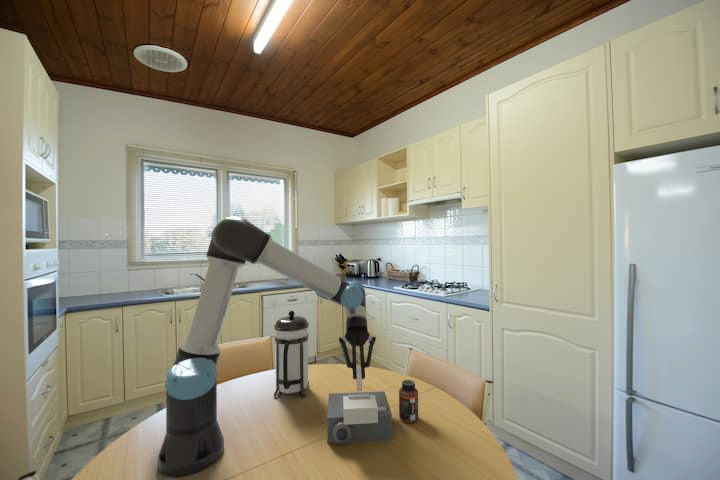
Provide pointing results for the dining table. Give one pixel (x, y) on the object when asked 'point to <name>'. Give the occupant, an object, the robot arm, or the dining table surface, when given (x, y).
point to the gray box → (358, 431)
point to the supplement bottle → (408, 402)
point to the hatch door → (360, 409)
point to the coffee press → (291, 354)
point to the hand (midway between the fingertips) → (359, 389)
